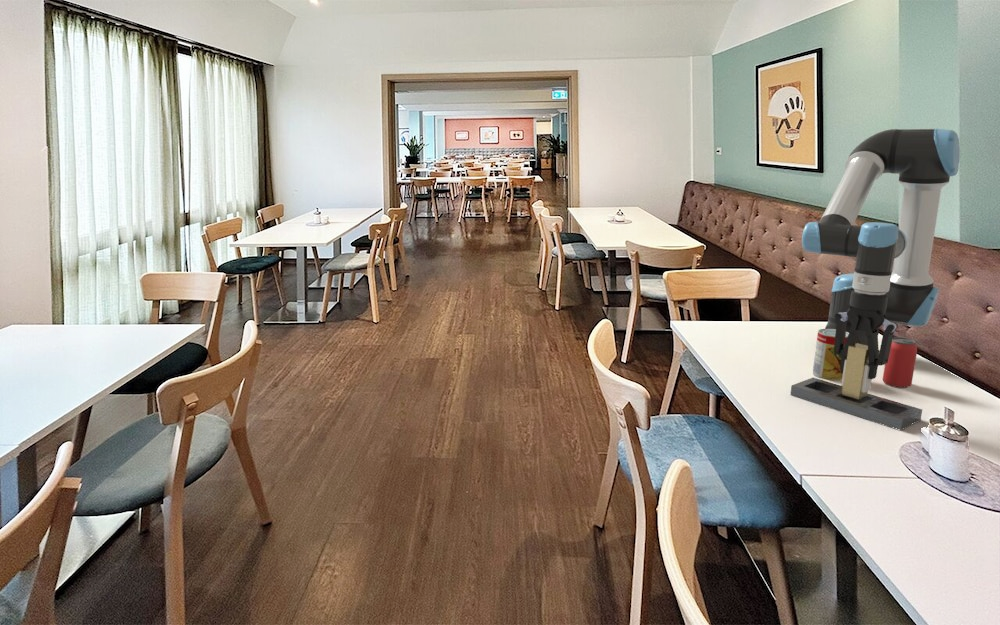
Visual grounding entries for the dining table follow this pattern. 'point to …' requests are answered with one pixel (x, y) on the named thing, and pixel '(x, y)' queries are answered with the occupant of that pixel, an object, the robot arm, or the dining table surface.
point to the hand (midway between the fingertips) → (855, 387)
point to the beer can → (900, 363)
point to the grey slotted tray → (857, 403)
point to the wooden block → (855, 371)
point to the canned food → (827, 356)
